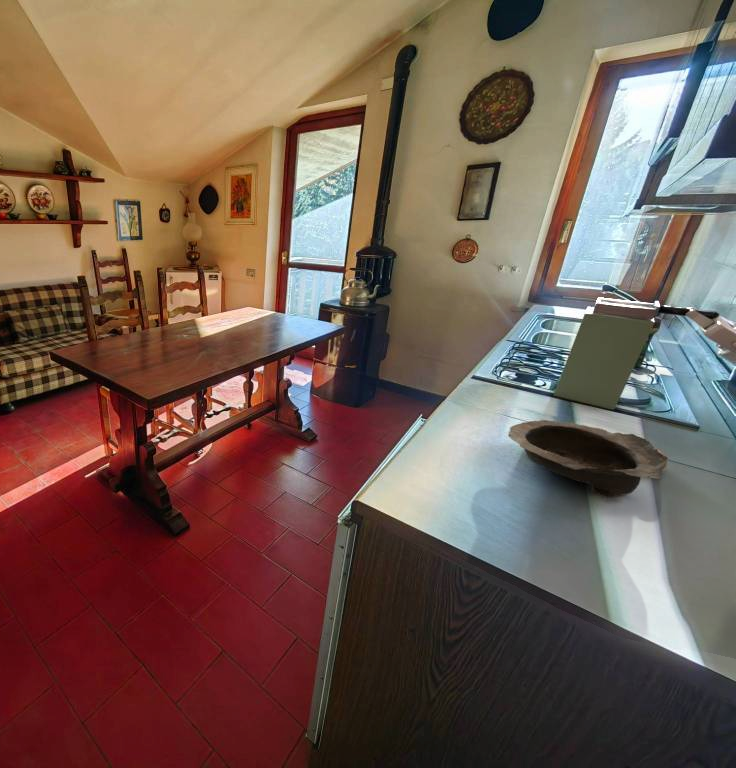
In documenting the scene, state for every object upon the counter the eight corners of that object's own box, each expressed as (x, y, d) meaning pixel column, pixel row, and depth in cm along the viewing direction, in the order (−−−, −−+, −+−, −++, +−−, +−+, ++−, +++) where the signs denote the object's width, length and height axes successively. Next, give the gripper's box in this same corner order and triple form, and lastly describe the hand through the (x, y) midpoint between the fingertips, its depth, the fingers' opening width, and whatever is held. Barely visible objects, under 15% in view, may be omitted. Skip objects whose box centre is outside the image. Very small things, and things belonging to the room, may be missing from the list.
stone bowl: (684, 522, 70) (705, 480, 67) (519, 498, 79) (530, 459, 75) (614, 449, 91) (627, 415, 88) (490, 437, 100) (497, 404, 97)
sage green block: (614, 397, 120) (652, 314, 110) (614, 410, 112) (654, 322, 102) (557, 384, 129) (587, 306, 118) (553, 395, 121) (584, 313, 110)
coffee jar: (607, 363, 148) (627, 315, 141) (606, 357, 154) (626, 311, 146) (642, 369, 143) (666, 319, 135) (640, 363, 148) (662, 315, 141)
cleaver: (711, 321, 102) (718, 307, 101) (717, 328, 95) (725, 313, 94) (594, 307, 117) (599, 295, 115) (592, 312, 110) (597, 299, 109)
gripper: (737, 365, 92) (677, 327, 96) (723, 346, 105) (671, 313, 110) (772, 346, 87) (707, 307, 92) (752, 328, 101) (697, 295, 106)
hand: (687, 310), depth 101 cm, fingers open, 3 cm apart
